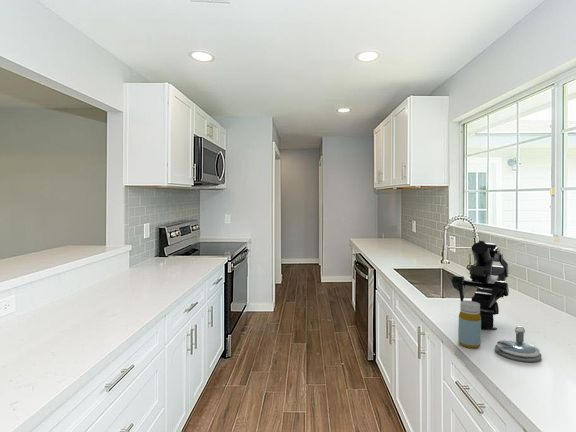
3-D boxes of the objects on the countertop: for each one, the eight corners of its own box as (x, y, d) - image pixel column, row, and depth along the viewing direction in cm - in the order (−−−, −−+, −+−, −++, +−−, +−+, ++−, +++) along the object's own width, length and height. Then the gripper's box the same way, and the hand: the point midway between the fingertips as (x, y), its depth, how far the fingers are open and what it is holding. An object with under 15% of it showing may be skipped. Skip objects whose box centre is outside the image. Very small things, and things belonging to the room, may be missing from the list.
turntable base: (486, 345, 126) (486, 326, 126) (522, 345, 127) (522, 325, 127) (511, 363, 113) (512, 341, 113) (551, 362, 114) (552, 340, 113)
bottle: (475, 350, 122) (476, 307, 121) (454, 344, 127) (455, 302, 127) (483, 345, 127) (484, 303, 126) (463, 339, 132) (464, 299, 131)
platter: (489, 343, 125) (489, 340, 125) (522, 342, 126) (522, 339, 126) (512, 358, 113) (512, 355, 113) (548, 357, 114) (549, 354, 114)
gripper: (453, 254, 141) (443, 288, 133) (508, 259, 129) (501, 296, 121) (458, 271, 147) (449, 304, 139) (511, 277, 135) (505, 314, 127)
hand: (474, 304), depth 131 cm, fingers open, 9 cm apart
